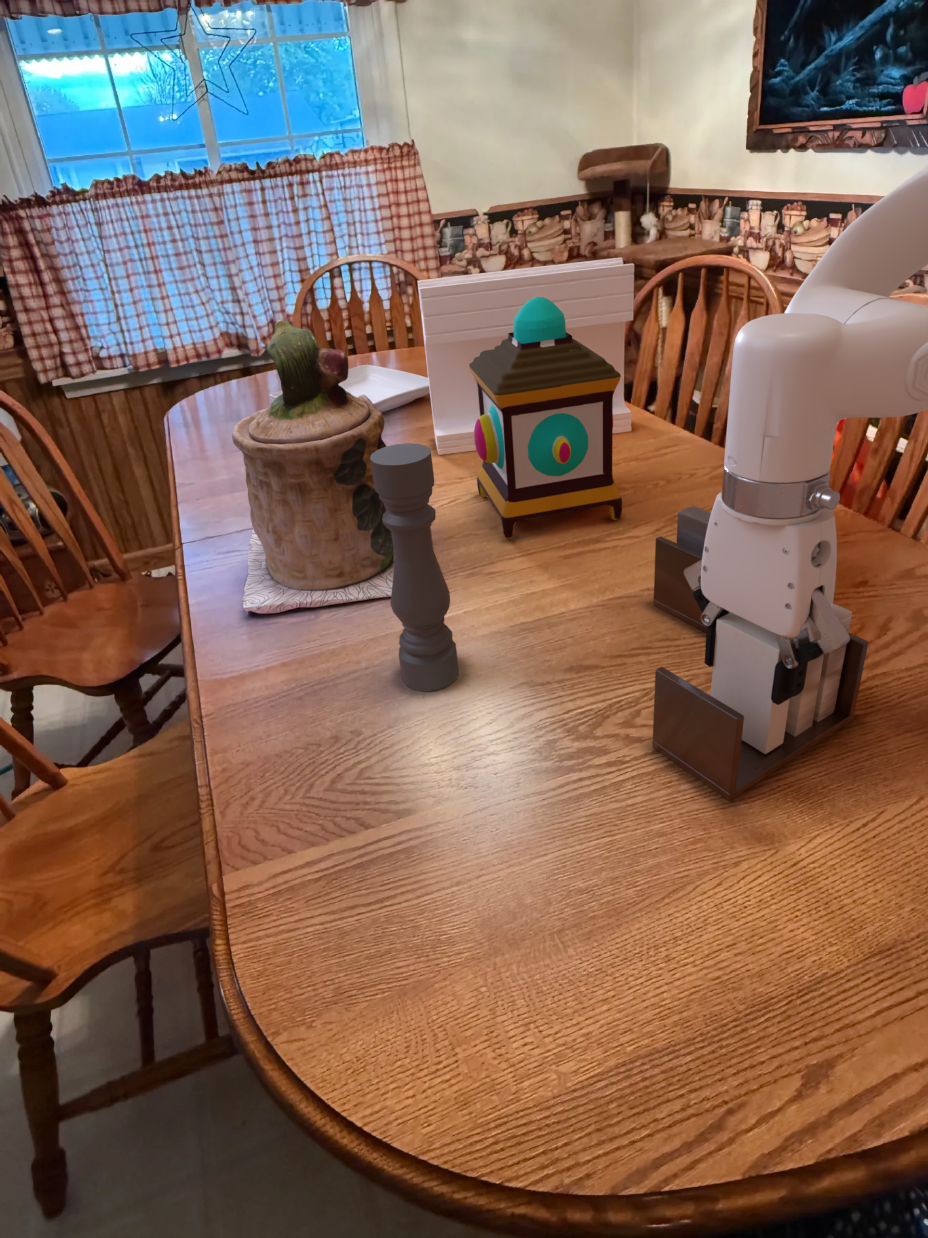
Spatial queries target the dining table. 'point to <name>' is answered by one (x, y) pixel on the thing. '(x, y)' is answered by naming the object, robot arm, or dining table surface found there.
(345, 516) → the cookie jar
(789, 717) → the dark brown rack
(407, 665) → the candle holder
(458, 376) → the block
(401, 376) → the square plate
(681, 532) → the dark brown wooden holder
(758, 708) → the white book
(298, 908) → the dining table surface
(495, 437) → the decorative lantern
